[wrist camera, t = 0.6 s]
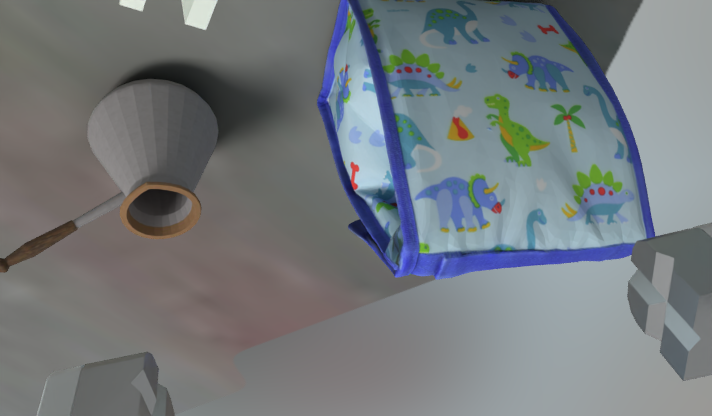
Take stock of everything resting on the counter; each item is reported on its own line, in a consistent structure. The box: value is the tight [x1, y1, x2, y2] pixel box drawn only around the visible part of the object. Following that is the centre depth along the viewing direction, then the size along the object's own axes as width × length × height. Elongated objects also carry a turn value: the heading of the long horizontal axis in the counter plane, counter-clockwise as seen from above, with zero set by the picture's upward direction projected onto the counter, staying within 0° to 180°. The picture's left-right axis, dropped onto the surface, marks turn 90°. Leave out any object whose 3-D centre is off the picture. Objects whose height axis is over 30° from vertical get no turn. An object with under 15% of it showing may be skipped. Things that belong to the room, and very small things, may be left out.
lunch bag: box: [317, 0, 655, 279], centre depth 59 cm, size 22×17×26 cm
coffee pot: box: [0, 79, 219, 272], centre depth 58 cm, size 21×12×15 cm, turn 96°
